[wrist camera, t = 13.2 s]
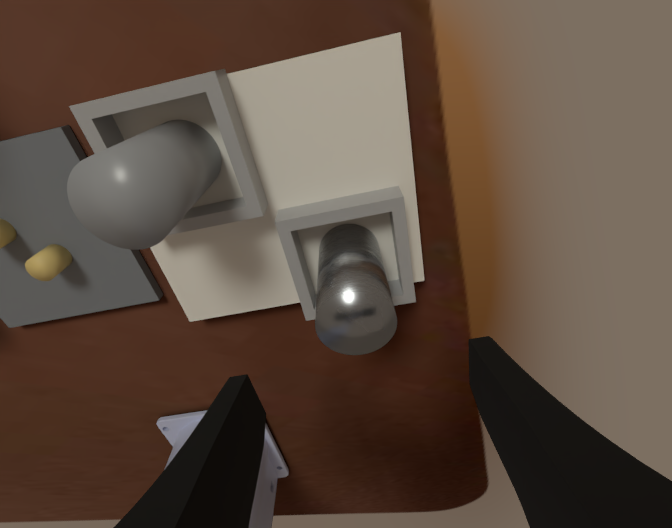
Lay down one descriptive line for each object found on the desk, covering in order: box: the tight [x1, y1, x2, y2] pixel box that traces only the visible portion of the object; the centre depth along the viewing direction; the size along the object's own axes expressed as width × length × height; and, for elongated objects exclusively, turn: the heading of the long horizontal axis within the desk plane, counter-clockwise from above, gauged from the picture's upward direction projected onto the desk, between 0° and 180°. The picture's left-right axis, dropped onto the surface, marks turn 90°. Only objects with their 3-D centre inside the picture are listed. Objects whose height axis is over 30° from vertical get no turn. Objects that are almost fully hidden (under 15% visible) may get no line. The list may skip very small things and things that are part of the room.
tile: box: [0, 125, 163, 328], centre depth 19 cm, size 10×10×2 cm
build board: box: [67, 32, 424, 322], centre depth 16 cm, size 12×14×7 cm
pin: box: [315, 224, 397, 355], centre depth 17 cm, size 3×3×6 cm
